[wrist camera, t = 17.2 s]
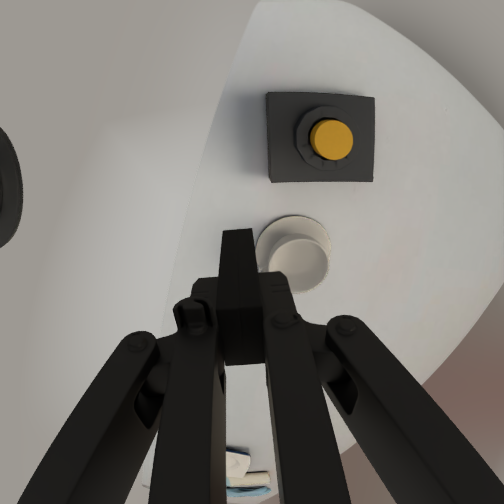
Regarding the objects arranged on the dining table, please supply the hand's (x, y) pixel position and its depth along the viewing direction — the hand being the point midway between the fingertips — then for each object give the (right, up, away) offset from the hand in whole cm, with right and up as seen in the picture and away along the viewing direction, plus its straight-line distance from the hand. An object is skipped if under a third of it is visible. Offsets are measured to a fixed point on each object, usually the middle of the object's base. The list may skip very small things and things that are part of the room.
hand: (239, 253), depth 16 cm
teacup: (+6, 0, +24) cm, 24 cm away
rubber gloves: (-9, -80, +62) cm, 101 cm away
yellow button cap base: (+8, +14, +17) cm, 23 cm away
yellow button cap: (+9, +12, +13) cm, 19 cm away
